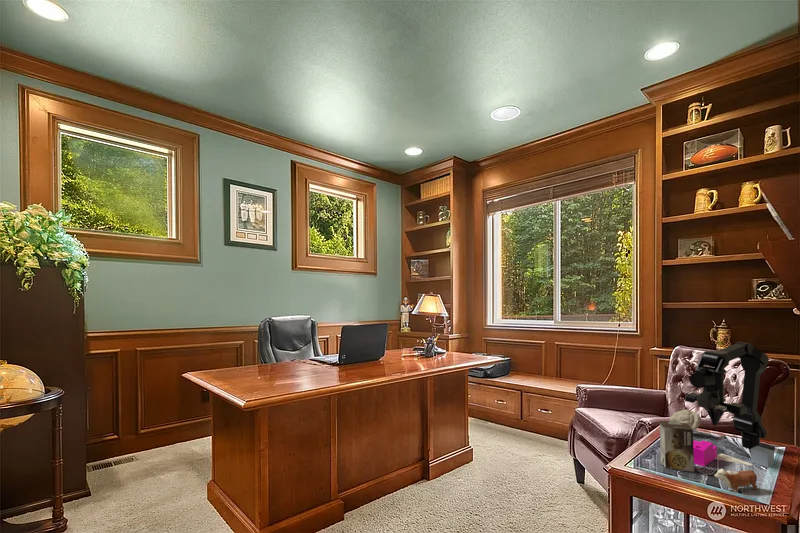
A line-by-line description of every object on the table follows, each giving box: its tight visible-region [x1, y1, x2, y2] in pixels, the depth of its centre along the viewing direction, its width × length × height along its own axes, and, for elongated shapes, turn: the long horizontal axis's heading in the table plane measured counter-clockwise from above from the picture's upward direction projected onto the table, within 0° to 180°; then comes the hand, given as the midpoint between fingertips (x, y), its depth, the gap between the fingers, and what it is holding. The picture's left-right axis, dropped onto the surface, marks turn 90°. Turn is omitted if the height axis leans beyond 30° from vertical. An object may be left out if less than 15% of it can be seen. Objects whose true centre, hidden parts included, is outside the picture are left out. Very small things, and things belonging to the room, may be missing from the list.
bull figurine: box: [714, 468, 758, 493], centre depth 132 cm, size 4×13×8 cm, turn 95°
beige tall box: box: [659, 420, 695, 473], centre depth 148 cm, size 9×6×16 cm
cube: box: [750, 445, 775, 468], centre depth 152 cm, size 5×5×5 cm
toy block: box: [693, 439, 718, 467], centre depth 156 cm, size 15×6×8 cm
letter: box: [714, 453, 754, 466], centre depth 153 cm, size 12×10×1 cm
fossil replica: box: [669, 409, 702, 432], centre depth 181 cm, size 12×8×10 cm
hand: (714, 425), depth 158 cm, fingers closed
